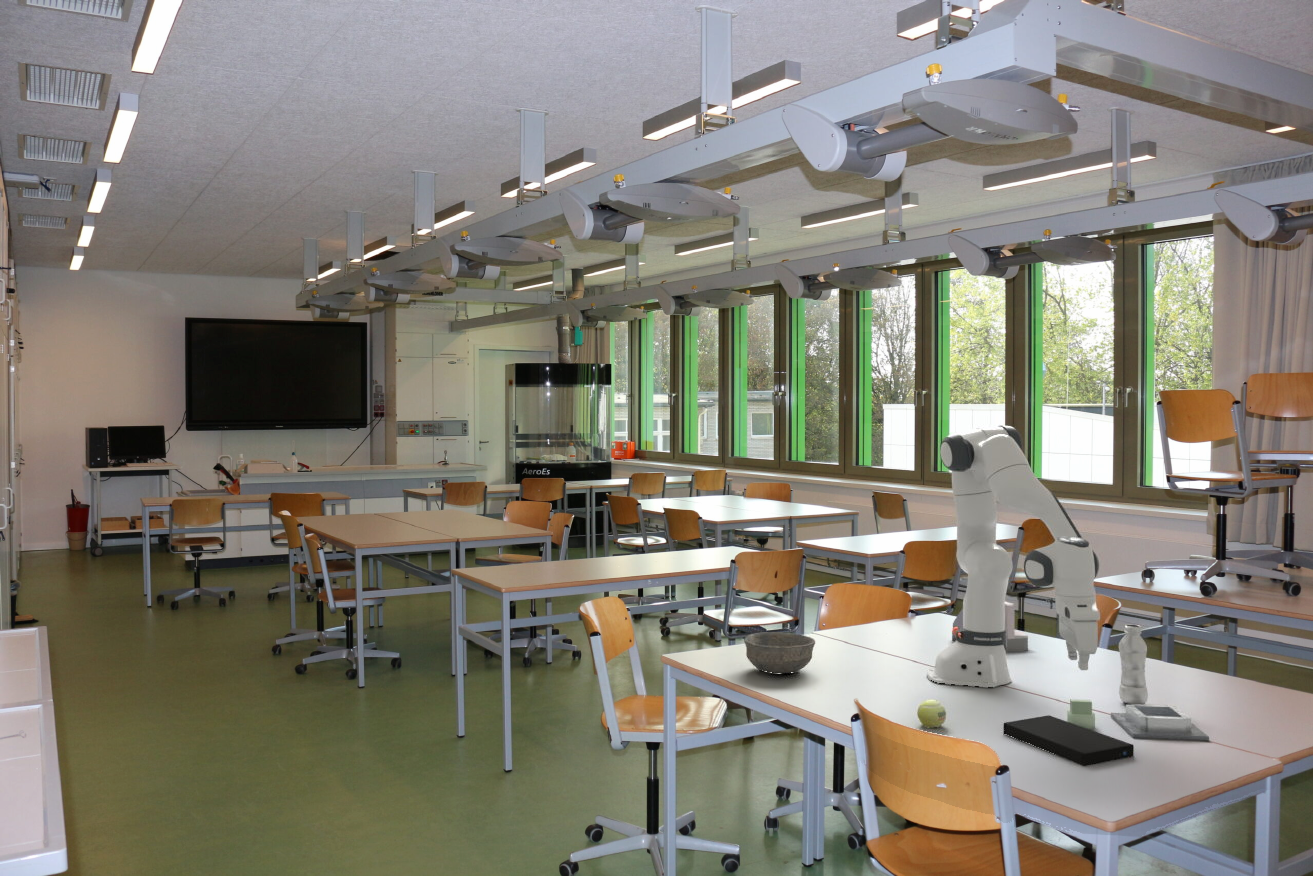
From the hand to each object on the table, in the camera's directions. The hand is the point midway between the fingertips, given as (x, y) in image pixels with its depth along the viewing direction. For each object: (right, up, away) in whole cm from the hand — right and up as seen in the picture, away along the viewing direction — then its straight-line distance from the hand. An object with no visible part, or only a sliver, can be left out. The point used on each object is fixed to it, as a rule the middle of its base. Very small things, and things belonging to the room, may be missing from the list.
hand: (1077, 664), depth 224 cm
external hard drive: (-9, -15, -13) cm, 22 cm away
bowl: (-64, -15, +51) cm, 83 cm away
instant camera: (+8, -14, +85) cm, 86 cm away
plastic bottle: (+22, -15, +17) cm, 31 cm away
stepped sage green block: (+1, -15, 0) cm, 15 cm away
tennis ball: (-34, -15, +1) cm, 38 cm away
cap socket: (+18, -14, -2) cm, 23 cm away
